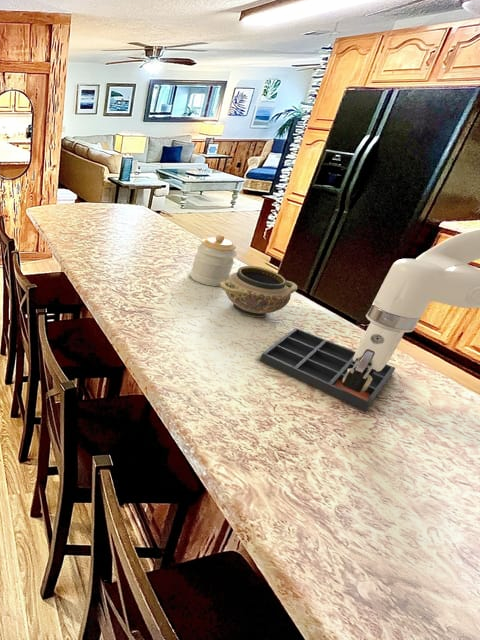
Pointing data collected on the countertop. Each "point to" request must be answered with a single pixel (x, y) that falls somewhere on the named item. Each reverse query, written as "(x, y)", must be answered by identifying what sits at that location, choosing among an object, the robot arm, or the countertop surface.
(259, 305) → the ceramic bowl
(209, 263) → the jar
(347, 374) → the cylinder
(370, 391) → the grid
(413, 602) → the countertop surface
